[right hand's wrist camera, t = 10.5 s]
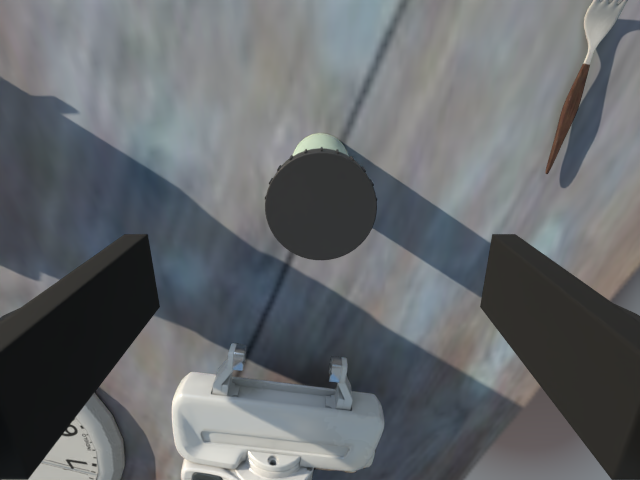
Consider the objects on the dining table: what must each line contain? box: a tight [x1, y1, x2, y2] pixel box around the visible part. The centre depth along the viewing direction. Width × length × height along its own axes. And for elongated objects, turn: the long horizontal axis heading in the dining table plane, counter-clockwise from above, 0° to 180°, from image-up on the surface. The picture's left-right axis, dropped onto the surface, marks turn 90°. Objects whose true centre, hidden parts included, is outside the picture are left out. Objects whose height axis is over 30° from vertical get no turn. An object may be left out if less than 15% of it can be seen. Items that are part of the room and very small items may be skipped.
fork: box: [546, 0, 628, 174], centre depth 31 cm, size 3×16×2 cm, turn 171°
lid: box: [265, 147, 377, 260], centre depth 21 cm, size 6×6×2 cm
